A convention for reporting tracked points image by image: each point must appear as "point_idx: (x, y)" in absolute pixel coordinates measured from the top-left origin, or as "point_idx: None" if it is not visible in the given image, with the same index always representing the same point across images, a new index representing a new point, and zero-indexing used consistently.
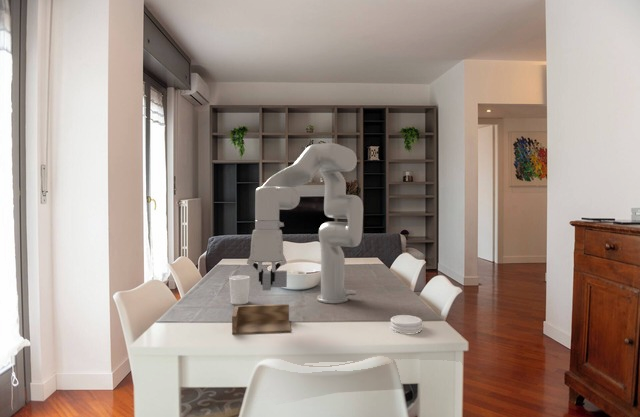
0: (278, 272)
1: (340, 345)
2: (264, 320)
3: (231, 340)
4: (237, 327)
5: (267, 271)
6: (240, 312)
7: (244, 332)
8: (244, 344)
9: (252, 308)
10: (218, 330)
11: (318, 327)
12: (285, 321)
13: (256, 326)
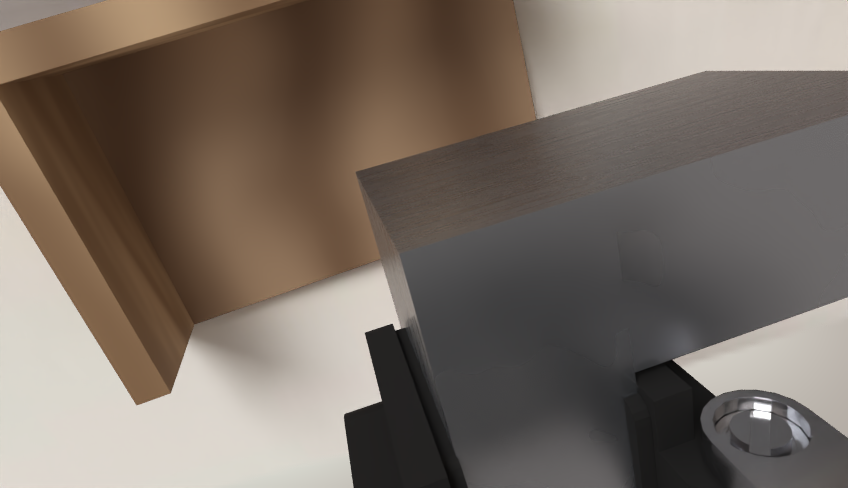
0: (781, 303)
1: (796, 320)
2: (296, 4)
3: (223, 414)
4: (148, 231)
5: (544, 390)
6: (47, 73)
7: (250, 301)
8: (328, 441)
9: (166, 36)
10: (10, 279)
11: (714, 58)
12: (482, 1)
13: (288, 175)
